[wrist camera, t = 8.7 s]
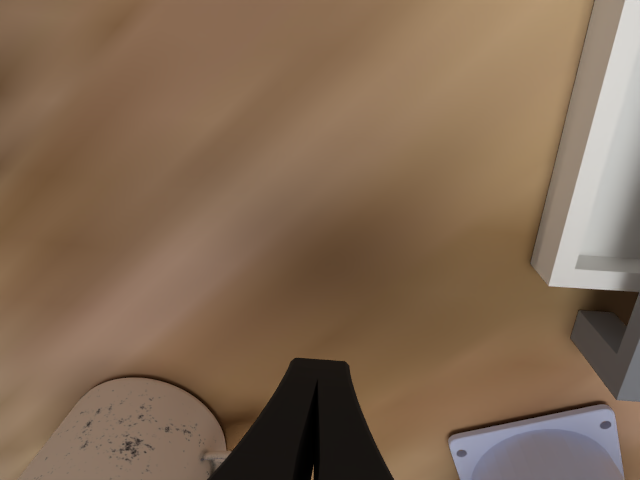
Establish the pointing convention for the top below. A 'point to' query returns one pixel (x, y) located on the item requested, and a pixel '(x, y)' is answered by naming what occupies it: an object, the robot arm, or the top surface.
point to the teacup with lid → (132, 436)
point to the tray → (598, 164)
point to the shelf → (611, 349)
